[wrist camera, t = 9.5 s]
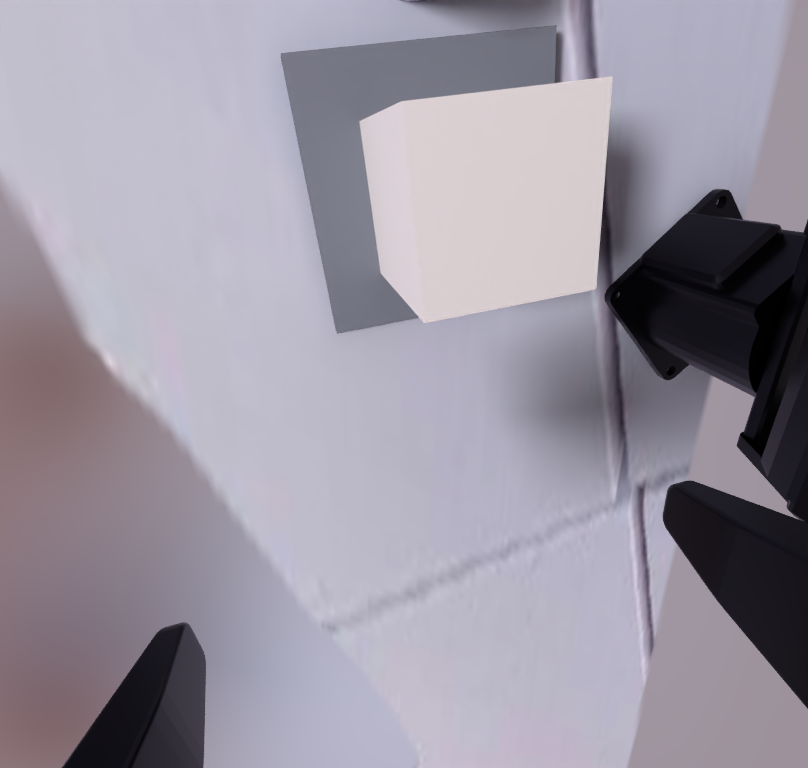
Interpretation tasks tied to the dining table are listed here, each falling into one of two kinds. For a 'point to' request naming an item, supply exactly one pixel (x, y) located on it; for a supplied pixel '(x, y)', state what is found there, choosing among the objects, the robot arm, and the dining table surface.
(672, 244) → the robot arm
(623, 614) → the dining table surface
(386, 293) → the slate mat
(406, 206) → the cream block
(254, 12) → the dining table surface
